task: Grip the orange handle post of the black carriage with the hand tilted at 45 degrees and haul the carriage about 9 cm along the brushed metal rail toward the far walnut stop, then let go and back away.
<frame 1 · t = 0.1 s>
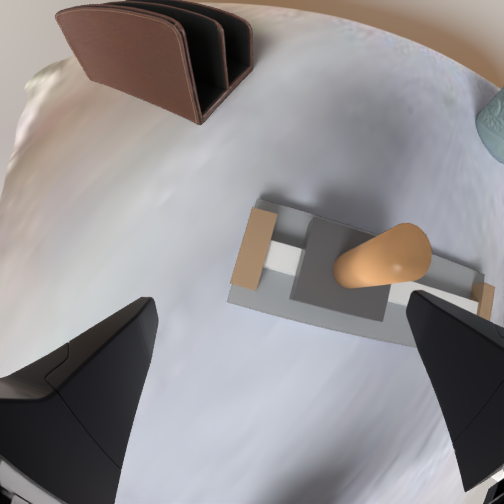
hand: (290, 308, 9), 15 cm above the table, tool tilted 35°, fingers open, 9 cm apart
letter holder: (163, 72, 28), on the table
rail: (381, 289, 24), on the table
green planter pot: (494, 139, 27), on the table
carriage: (367, 265, 16), point 8 cm above the table, slide at -5.0 cm
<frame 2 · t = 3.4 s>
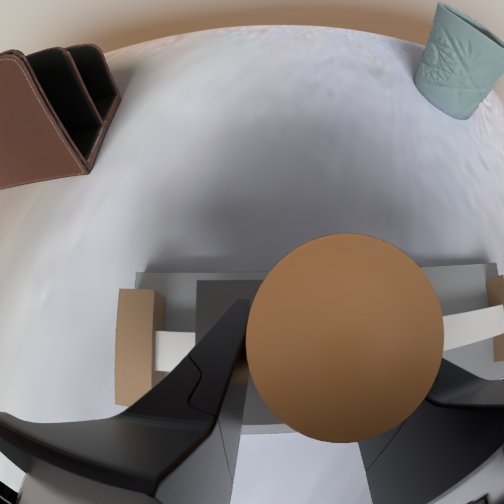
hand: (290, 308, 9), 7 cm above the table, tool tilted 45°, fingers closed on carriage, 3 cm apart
letter holder: (36, 150, 22), on the table
rail: (358, 347, 15), on the table
green planter pot: (443, 97, 25), on the table
carriage: (295, 350, 8), point 8 cm above the table, slide at -5.0 cm, touching gripper
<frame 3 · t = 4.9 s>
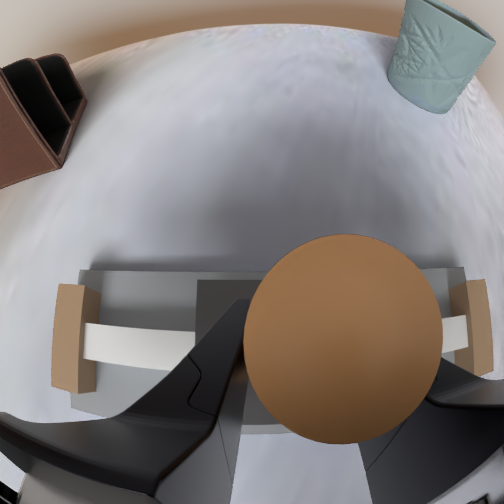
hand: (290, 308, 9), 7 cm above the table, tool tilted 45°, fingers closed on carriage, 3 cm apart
letter holder: (14, 156, 22), on the table
rail: (286, 353, 15), on the table
green planter pot: (419, 90, 25), on the table
carriage: (294, 350, 8), point 8 cm above the table, slide at -0.7 cm, touching gripper
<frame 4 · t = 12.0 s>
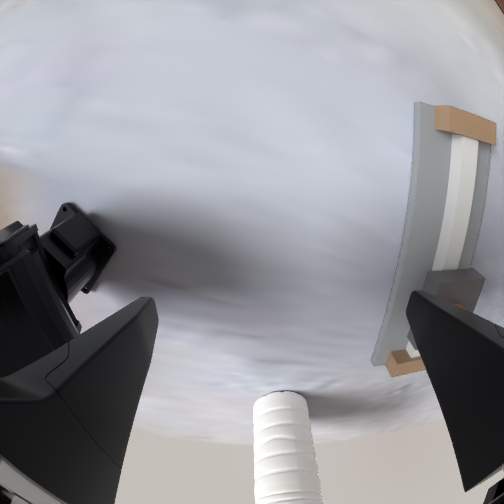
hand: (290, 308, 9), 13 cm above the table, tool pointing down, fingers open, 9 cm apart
water bottle: (272, 401, 31), on the table
rail: (437, 251, 23), on the table
carriage: (469, 336, 17), point 8 cm above the table, slide at 4.0 cm
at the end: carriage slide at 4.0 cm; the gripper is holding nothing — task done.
